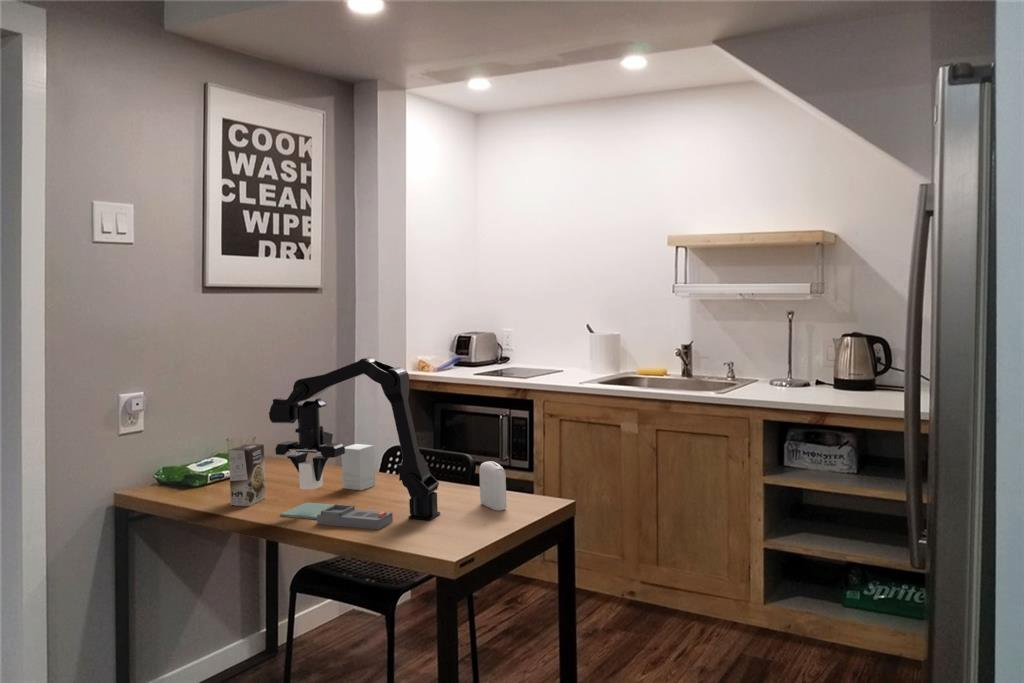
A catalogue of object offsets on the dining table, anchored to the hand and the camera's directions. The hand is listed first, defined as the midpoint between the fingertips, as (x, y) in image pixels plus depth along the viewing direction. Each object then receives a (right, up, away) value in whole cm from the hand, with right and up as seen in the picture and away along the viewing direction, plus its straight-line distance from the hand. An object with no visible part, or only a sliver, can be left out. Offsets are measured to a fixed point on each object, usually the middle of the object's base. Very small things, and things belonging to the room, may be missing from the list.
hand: (311, 480), depth 219 cm
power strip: (+14, -9, -11) cm, 20 cm away
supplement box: (+8, -7, +28) cm, 29 cm away
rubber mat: (0, -9, +1) cm, 9 cm away
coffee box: (-21, -9, +13) cm, 26 cm away
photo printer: (+49, -8, +2) cm, 50 cm away
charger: (0, -2, 0) cm, 2 cm away
